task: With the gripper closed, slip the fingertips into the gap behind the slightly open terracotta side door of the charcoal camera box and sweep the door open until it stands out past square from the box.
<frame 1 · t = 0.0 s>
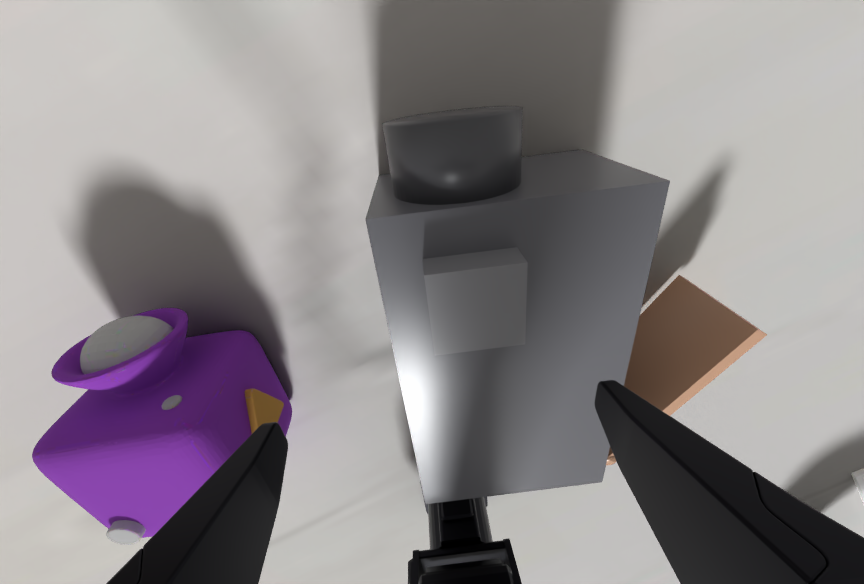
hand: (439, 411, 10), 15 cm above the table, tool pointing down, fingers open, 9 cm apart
side door: (647, 371, 25), point 4 cm above the table, hinge at 35.0°
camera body: (486, 305, 26), on the table
toy camera: (212, 360, 27), on the table
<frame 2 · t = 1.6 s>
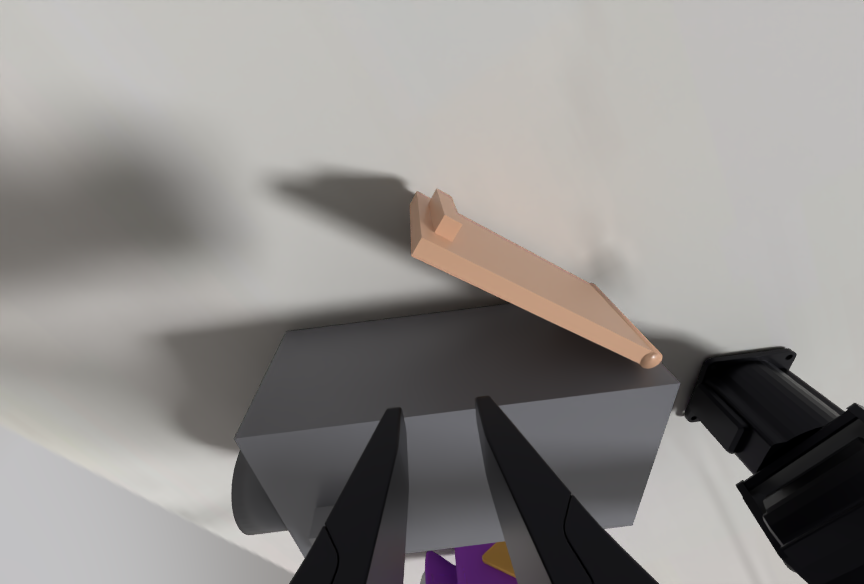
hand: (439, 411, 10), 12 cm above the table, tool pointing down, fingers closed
side door: (533, 270, 17), point 4 cm above the table, hinge at 35.0°
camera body: (449, 380, 26), on the table
toy camera: (484, 526, 37), on the table
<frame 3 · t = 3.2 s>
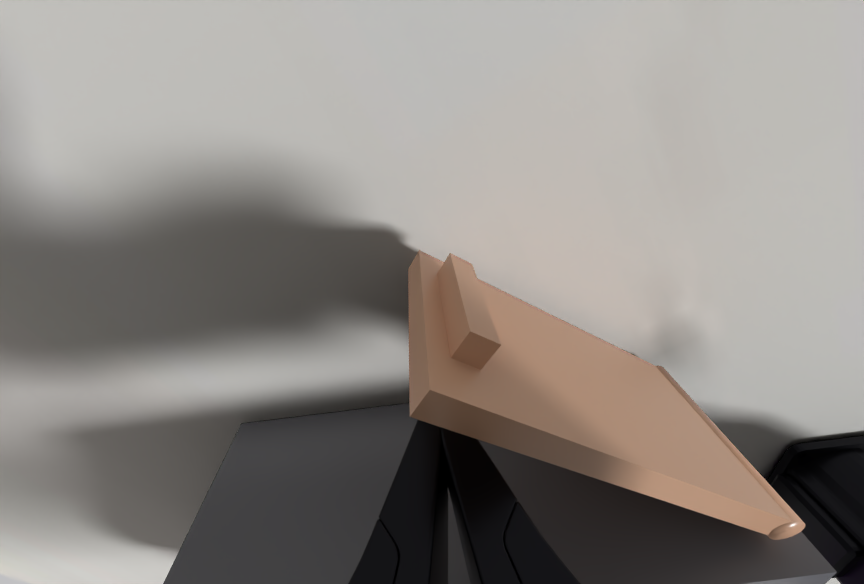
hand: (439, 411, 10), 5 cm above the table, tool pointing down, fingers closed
side door: (596, 378, 11), point 4 cm above the table, hinge at 35.4°, touching gripper
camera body: (459, 473, 20), on the table
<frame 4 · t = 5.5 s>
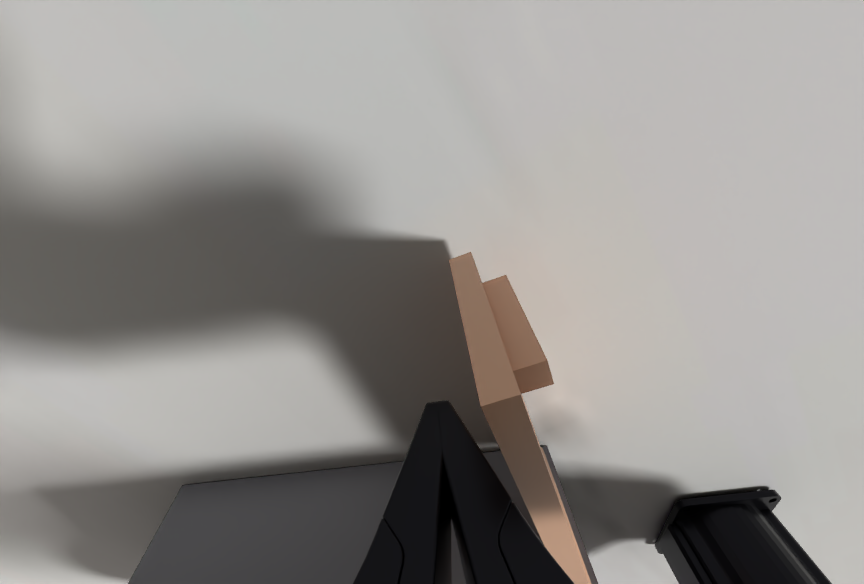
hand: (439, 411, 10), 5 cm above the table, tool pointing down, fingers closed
side door: (535, 439, 13), point 4 cm above the table, hinge at 74.6°, touching gripper
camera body: (382, 521, 23), on the table
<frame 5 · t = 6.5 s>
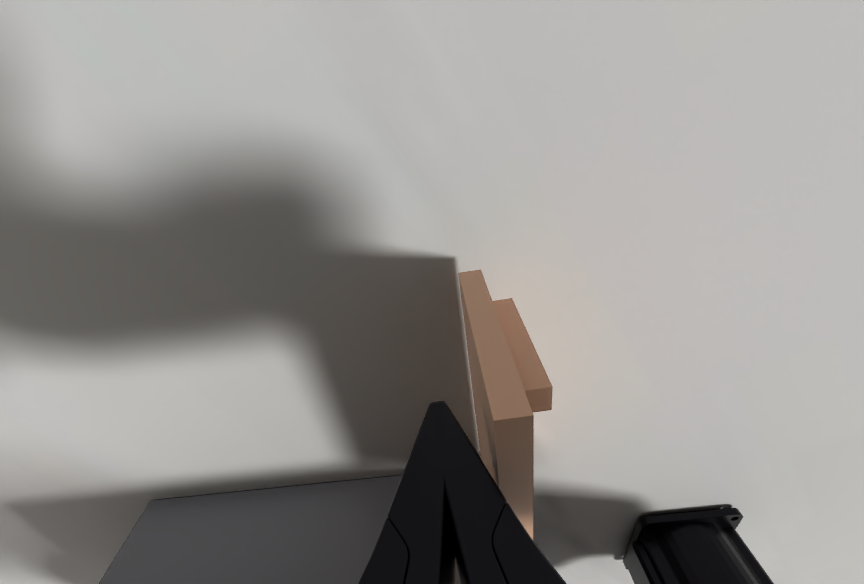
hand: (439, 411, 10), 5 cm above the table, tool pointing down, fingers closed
side door: (506, 459, 13), point 4 cm above the table, hinge at 87.2°, touching gripper
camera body: (350, 536, 23), on the table
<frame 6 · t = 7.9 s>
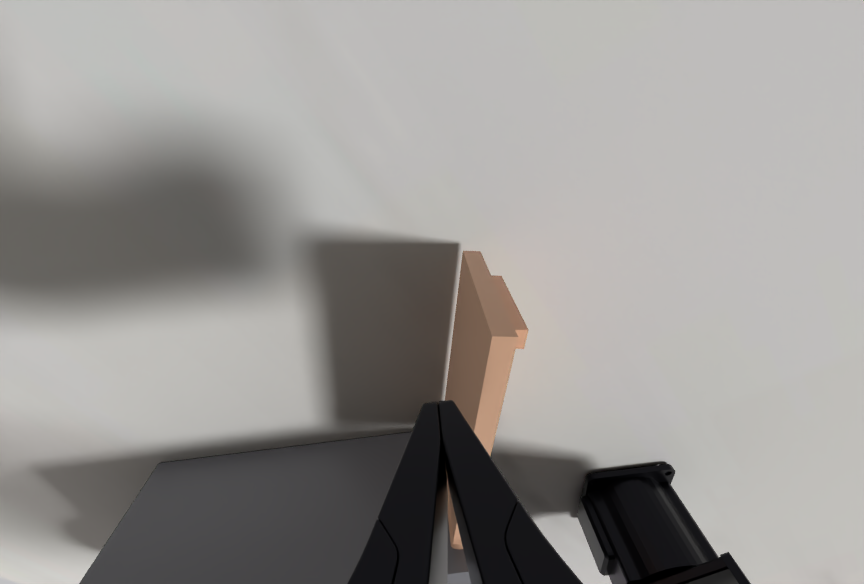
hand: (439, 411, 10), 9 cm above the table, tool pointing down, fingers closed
side door: (473, 403, 17), point 4 cm above the table, hinge at 100.1°
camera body: (333, 496, 26), on the table
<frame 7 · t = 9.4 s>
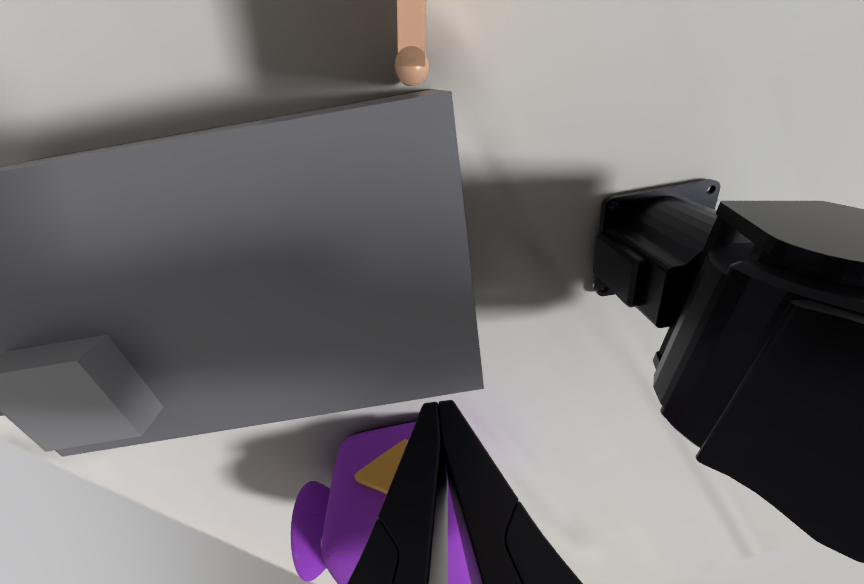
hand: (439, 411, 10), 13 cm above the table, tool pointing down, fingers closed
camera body: (276, 239, 20), on the table
toy camera: (388, 456, 31), on the table
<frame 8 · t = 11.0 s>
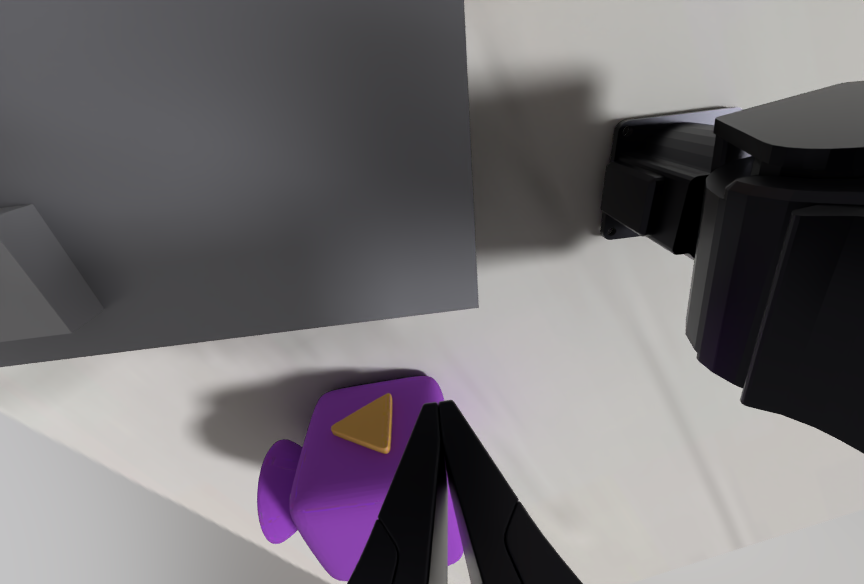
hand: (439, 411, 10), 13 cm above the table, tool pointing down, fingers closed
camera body: (252, 149, 18), on the table
toy camera: (370, 418, 29), on the table
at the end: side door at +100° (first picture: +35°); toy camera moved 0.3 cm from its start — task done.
